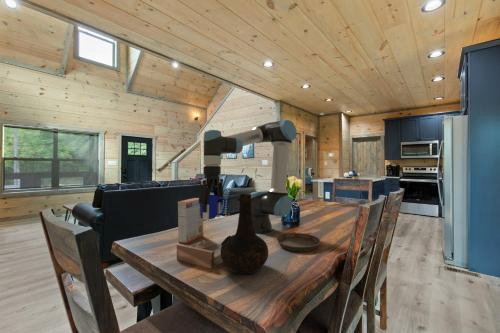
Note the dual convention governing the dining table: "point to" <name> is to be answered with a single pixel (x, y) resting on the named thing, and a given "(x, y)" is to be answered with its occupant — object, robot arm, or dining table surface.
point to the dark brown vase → (244, 243)
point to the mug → (213, 206)
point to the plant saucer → (298, 241)
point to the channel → (198, 255)
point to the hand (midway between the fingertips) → (211, 218)
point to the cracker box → (189, 220)
